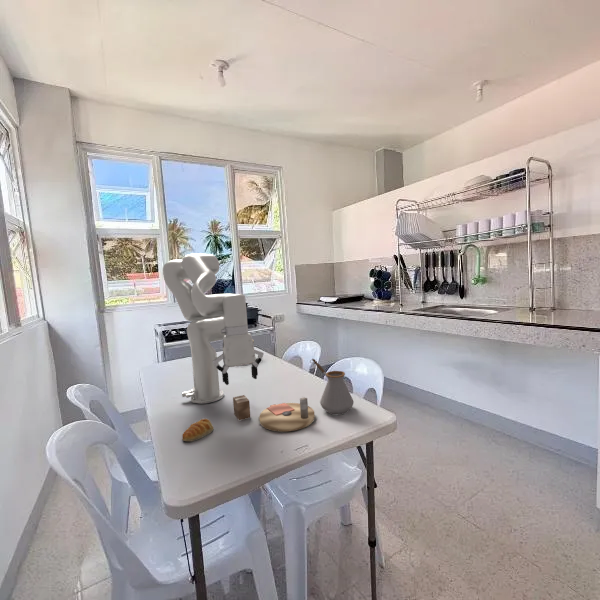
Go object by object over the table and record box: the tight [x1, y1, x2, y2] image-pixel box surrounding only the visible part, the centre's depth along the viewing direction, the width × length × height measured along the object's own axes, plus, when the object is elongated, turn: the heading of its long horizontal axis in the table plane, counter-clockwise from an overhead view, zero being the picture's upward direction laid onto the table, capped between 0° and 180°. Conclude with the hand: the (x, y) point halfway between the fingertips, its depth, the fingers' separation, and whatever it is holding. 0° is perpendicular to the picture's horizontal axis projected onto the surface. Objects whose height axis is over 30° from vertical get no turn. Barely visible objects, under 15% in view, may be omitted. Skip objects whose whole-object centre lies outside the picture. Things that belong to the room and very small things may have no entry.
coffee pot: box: [309, 358, 354, 416], centre depth 115 cm, size 21×12×15 cm, turn 28°
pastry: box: [181, 417, 215, 442], centre depth 99 cm, size 9×7×4 cm
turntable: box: [258, 396, 315, 433], centre depth 106 cm, size 18×18×8 cm
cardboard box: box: [232, 394, 251, 421], centre depth 111 cm, size 4×6×6 cm, turn 27°
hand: (240, 380), depth 109 cm, fingers open, 9 cm apart
